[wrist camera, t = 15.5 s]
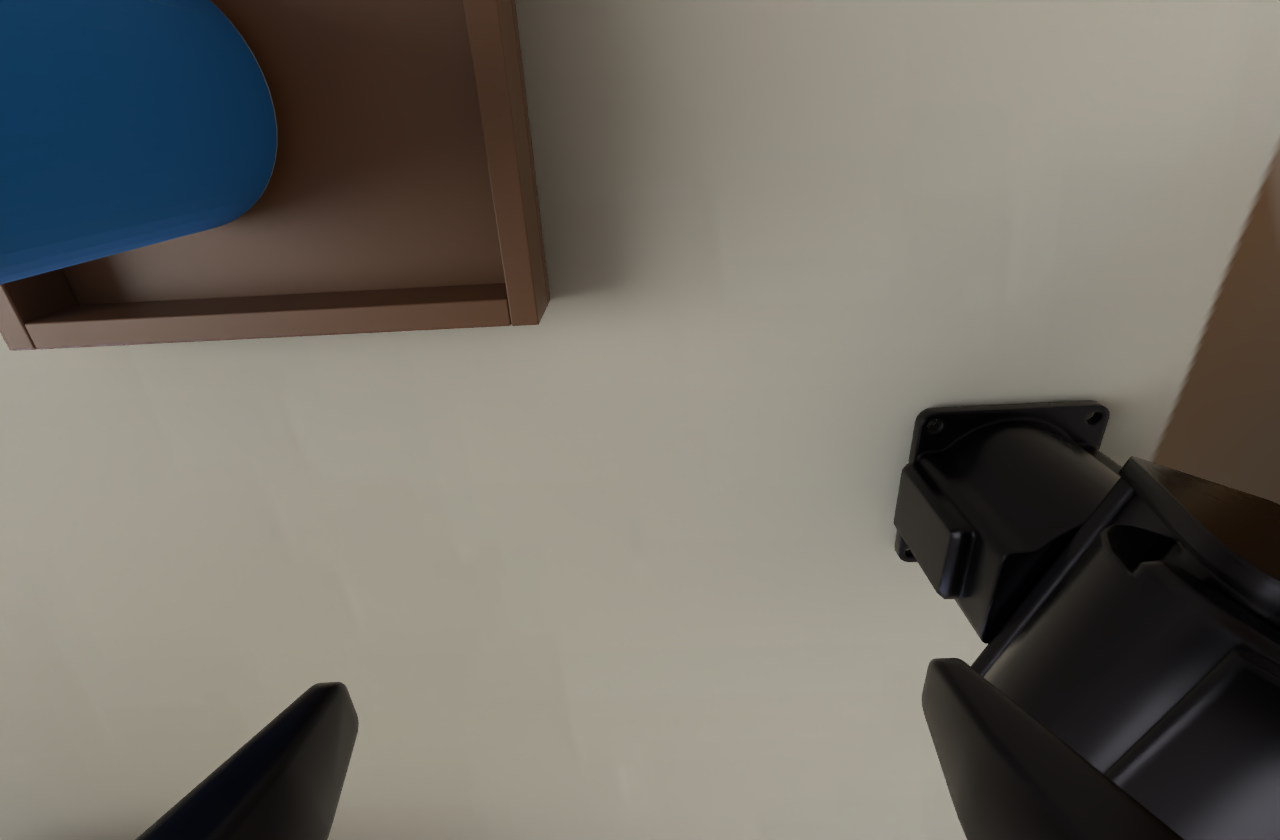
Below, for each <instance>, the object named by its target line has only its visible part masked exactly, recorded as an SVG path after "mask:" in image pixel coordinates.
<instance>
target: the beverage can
mask: <svg viewBox="0 0 1280 840" xmlns="http://www.w3.org/2000/svg"><path fill="white" fill-rule="evenodd" d="M277 144H278V141H277V122H276V116H275V109H274V105H273V101H272V97H271V94H270V90H269V88H268V85H267V82H266V80H265V77H264V75H263V72H262V70H261V68H260V66H259V64H258V62H257V60H256V58H255V56H254V54H253V53H252V51H251V49H250V48H249V46H248V45H247V43H246V42H245V40H244V38H243V37H242V36H241V34H240V33H239V32H238V30H237V29H236V28H235V26H234V25H233V24H232V23H231V21H230V20H229V19H228V18H227V17H226V16H225V15H224V14H223V13H222V12H221V11H220V9H219V8H218V7H217V6H216V5H215V4H214V3H213V2H211V1H210V0H0V285H1V284H4V283H8V282H12V281H16V280H20V279H23V278H27V277H31V276H35V275H39V274H42V273H46V272H50V271H54V270H57V269H61V268H65V267H69V266H73V265H76V264H80V263H84V262H88V261H92V260H95V259H99V258H103V257H107V256H111V255H114V254H118V253H122V252H126V251H129V250H133V249H137V248H141V247H145V246H148V245H152V244H156V243H160V242H164V241H167V240H171V239H175V238H179V237H183V236H186V235H190V234H194V233H198V232H201V231H205V230H209V229H213V228H216V227H219V226H222V225H225V224H228V223H230V222H231V221H233V220H235V219H237V218H239V217H240V216H242V215H243V214H244V213H245V212H247V211H248V210H249V209H250V208H251V207H252V206H253V205H254V204H255V203H256V202H257V200H258V199H259V198H260V197H261V195H262V193H263V192H264V190H265V189H266V187H267V185H268V182H269V180H270V178H271V175H272V173H273V169H274V165H275V161H276V153H277Z"/></svg>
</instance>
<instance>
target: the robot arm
mask: <svg viewBox="0 0 1280 840" xmlns="http://www.w3.org/2000/svg"><path fill="white" fill-rule="evenodd" d="M1093 412H1094V414H1093V416H1092V417H1091V418H1089V419H1087V418H1088V416H1089V415H1090V414H1091V413H1093ZM934 419H937V421H936V423H935V424H934V425H933V426H931V427H927V425H928V423H929V422H930V421H931V420H934ZM1108 419H1109V411H1108V409H1107V408H1106V407H1104V406H1103V405H1101V404H1100V403H1098V402H1096V401H1070V402H1048V403H1027V404H1005V405H984V406H963V407H941V408H929V409H926V410H924V411H922V412H921V413H920V414H919V415H918V416H917V418H916V421H915V427H914V433H913V439H912V445H911V451H910V457H909V463H908V464H906V466H905V467H904V468H903V469H902V474H901V480H900V486H899V493H898V499H897V505H896V511H895V517H894V525H895V526H896V528H897V535H896V541H895V551H896V552H897V554H898V556H899V557H900V559H901V560H903V561H906V562H918V563H919V565H920V566H921V568H922V569H923V571H924V573H925V574H926V576H927V577H928V579H929V581H930V582H931V584H932V585H933V587H934V589H935V590H936V592H937V593H938V594H939V595H940V596H941V597H943V598H944V599H955V600H956V602H957V604H958V605H959V607H960V608H961V610H962V611H963V613H964V614H965V616H966V617H967V619H968V620H969V622H970V623H971V625H972V626H973V628H974V629H975V631H976V633H977V634H978V636H979V637H980V639H981V640H982V641H983V642H984V643H988V645H987V647H986V648H985V649H984V650H983V652H982V653H981V654H980V655H979V657H978V658H977V659H976V661H975V662H974V663H973V664H972V666H971V667H970V666H969V665H968V664H967V663H965V662H964V661H962V660H960V659H958V658H940V659H933V660H932V661H931V662H930V663H929V666H928V670H927V675H926V679H925V684H924V688H923V693H922V707H923V711H924V715H925V718H926V721H927V724H928V727H929V730H930V733H931V736H932V739H933V742H934V745H935V749H936V752H937V755H938V758H939V761H940V764H941V767H942V770H943V773H944V776H945V779H946V783H947V786H948V789H949V792H950V795H951V798H952V801H953V804H954V807H955V810H956V812H957V815H958V818H959V821H960V823H961V825H962V828H963V830H964V833H965V835H966V838H967V840H1280V505H1279V504H1277V503H1274V502H1272V501H1269V500H1267V499H1264V498H1260V497H1257V496H1254V495H1251V494H1248V493H1245V492H1242V491H1239V490H1235V489H1232V488H1229V487H1226V486H1223V485H1220V484H1217V483H1214V482H1211V481H1207V480H1205V479H1201V478H1198V477H1195V476H1192V475H1189V474H1186V473H1183V472H1180V471H1177V470H1173V469H1170V468H1167V467H1164V466H1161V465H1158V464H1155V463H1152V462H1149V461H1146V460H1143V459H1139V458H1136V457H1133V456H1132V457H1130V458H1129V460H1128V461H1127V462H1126V464H1125V465H1124V466H1123V467H1121V466H1120V465H1118V464H1117V463H1115V462H1114V461H1113V460H1111V459H1110V458H1109V457H1107V456H1106V455H1104V454H1103V453H1102V452H1100V451H1099V447H1100V444H1101V441H1102V438H1103V435H1104V432H1105V429H1106V426H1107V422H1108ZM907 548H909V549H910V550H907V551H906V549H907ZM357 732H358V717H357V713H356V711H355V708H354V706H353V703H352V700H351V698H350V695H349V692H348V690H347V687H346V686H345V685H344V684H343V683H341V682H329V683H318V684H315V685H313V686H312V687H310V688H309V689H308V690H307V691H306V692H305V693H303V694H302V695H301V696H300V697H299V698H298V699H297V700H295V701H294V702H293V703H292V704H291V705H290V706H288V707H287V708H286V709H285V710H284V711H283V712H282V713H280V714H279V715H278V716H277V717H276V718H275V719H274V720H272V721H271V722H270V723H269V724H268V725H267V726H265V727H264V728H263V729H262V730H261V731H260V732H259V733H257V734H256V735H255V736H254V737H253V738H252V739H251V740H249V741H248V742H247V743H246V744H245V745H244V746H243V747H241V748H240V749H239V750H238V751H237V752H236V753H234V754H233V755H232V756H231V757H230V758H229V759H228V760H226V761H225V762H224V763H223V764H222V765H221V766H220V767H218V768H217V769H216V770H215V771H214V772H213V773H211V774H210V775H209V776H208V777H207V778H206V779H205V780H203V781H202V782H201V783H200V784H199V785H198V786H197V787H195V788H194V789H193V790H192V791H191V792H190V793H188V794H187V795H186V796H185V797H184V798H183V799H182V800H180V801H179V802H178V803H177V804H176V805H175V806H174V807H172V808H171V809H170V810H169V811H168V812H167V813H165V814H164V815H163V816H162V817H161V818H160V819H159V820H157V821H156V822H155V823H154V824H153V825H152V826H151V827H149V828H148V829H147V830H146V831H145V832H144V833H142V834H141V835H140V836H139V837H138V838H137V839H136V840H327V839H328V836H329V833H330V829H331V826H332V823H333V819H334V816H335V812H336V808H337V805H338V801H339V798H340V794H341V790H342V787H343V783H344V780H345V776H346V772H347V769H348V765H349V761H350V758H351V754H352V751H353V747H354V743H355V740H356V736H357Z"/></svg>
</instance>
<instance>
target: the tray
mask: <svg viewBox="0 0 1280 840" xmlns="http://www.w3.org/2000/svg"><path fill="white" fill-rule="evenodd" d="M210 1H211V2H213V3H214V4H215V5H216V6H217V7H218V8H219V9H220V11H221V12H222V13H223V14H224V15H225V16H226V17H227V18H228V19H229V20H230V21H231V23H232V24H233V25H234V26H235V28H236V29H237V30H238V32H239V33H240V34H241V36H242V37H243V38H244V40H245V42H246V43H247V45H248V46H249V48H250V49H251V51H252V53H253V54H254V56H255V58H256V60H257V62H258V64H259V66H260V68H261V70H262V72H263V75H264V77H265V80H266V82H267V85H268V88H269V90H270V94H271V97H272V101H273V105H274V109H275V116H276V122H277V141H278V144H277V153H276V161H275V165H274V169H273V173H272V175H271V178H270V180H269V182H268V185H267V187H266V189H265V190H264V192H263V193H262V195H261V197H260V198H259V199H258V200H257V202H256V203H255V204H254V205H253V206H252V207H251V208H250V209H249V210H248V211H247V212H245V213H244V214H243V215H242V216H240V217H239V218H237V219H235V220H233V221H231V222H230V223H228V224H225V225H222V226H219V227H216V228H213V229H209V230H205V231H201V232H198V233H194V234H190V235H186V236H183V237H179V238H175V239H171V240H167V241H164V242H160V243H156V244H152V245H148V246H145V247H141V248H137V249H133V250H129V251H126V252H122V253H118V254H114V255H111V256H107V257H103V258H99V259H95V260H92V261H88V262H84V263H80V264H76V265H73V266H69V267H65V268H61V269H57V270H54V271H50V272H46V273H42V274H39V275H35V276H31V277H27V278H23V279H20V280H16V281H12V282H8V283H4V284H1V285H0V332H1V334H2V336H3V338H4V340H5V341H6V343H7V345H8V347H9V349H10V350H33V349H54V348H74V347H94V346H114V345H134V344H154V343H174V342H194V341H214V340H234V339H254V338H274V337H294V336H314V335H334V334H354V333H374V332H394V331H414V330H434V329H454V328H474V327H494V326H510V325H511V324H512V325H513V326H518V325H538V324H539V322H540V320H541V318H542V316H543V314H544V312H545V310H546V308H547V305H548V303H549V301H550V295H549V286H548V278H547V269H546V261H545V252H544V244H543V235H542V227H541V218H540V210H539V202H538V193H537V185H536V176H535V168H534V159H533V151H532V142H531V134H530V125H529V117H528V108H527V100H526V92H525V83H524V75H523V66H522V58H521V49H520V41H519V32H518V24H517V15H516V7H515V0H210Z"/></svg>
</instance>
